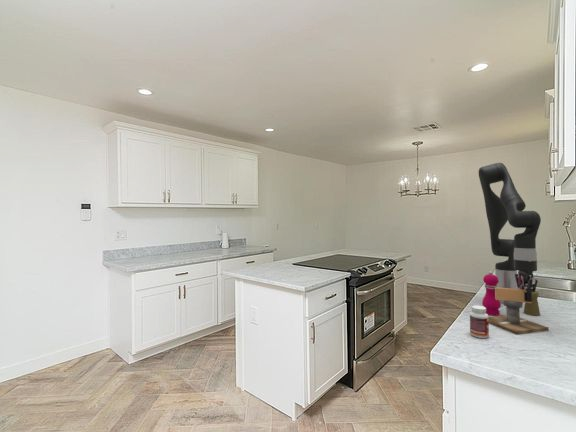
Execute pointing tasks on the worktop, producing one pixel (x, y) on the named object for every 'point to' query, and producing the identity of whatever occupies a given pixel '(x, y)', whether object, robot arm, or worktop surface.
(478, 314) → the pill bottle
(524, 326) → the square stand base
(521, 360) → the worktop surface
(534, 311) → the cork
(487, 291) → the pepper mill
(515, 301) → the tan long piece
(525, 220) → the robot arm
